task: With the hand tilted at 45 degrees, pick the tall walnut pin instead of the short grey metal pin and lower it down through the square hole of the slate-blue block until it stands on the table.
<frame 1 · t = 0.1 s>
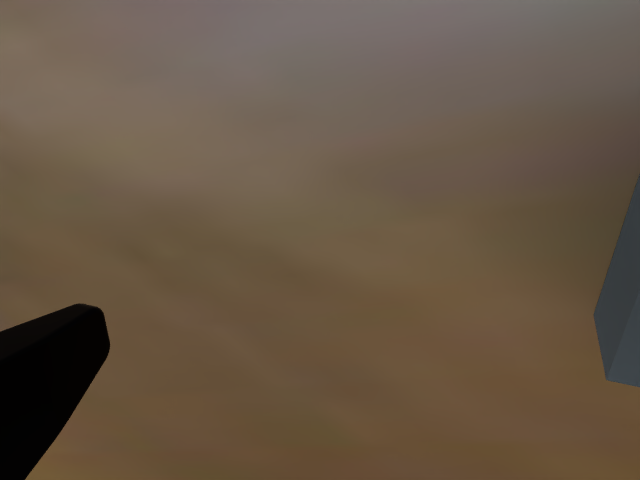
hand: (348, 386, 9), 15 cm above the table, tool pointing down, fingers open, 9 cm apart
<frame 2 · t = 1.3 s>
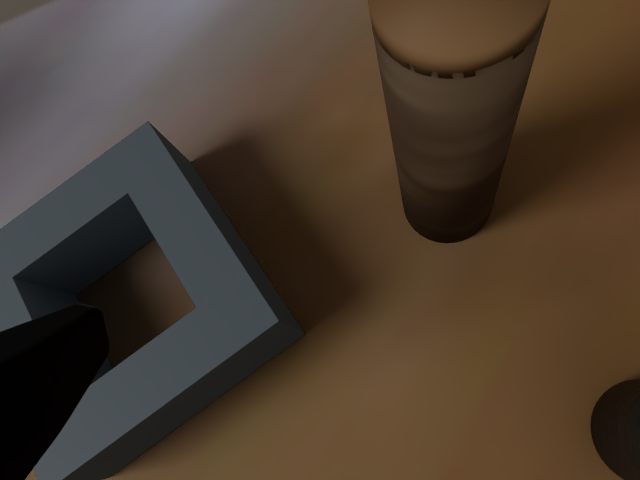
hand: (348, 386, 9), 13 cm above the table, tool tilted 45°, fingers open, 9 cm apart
tall walnut pin: (446, 201, 23), on the table
hole block: (152, 308, 24), on the table
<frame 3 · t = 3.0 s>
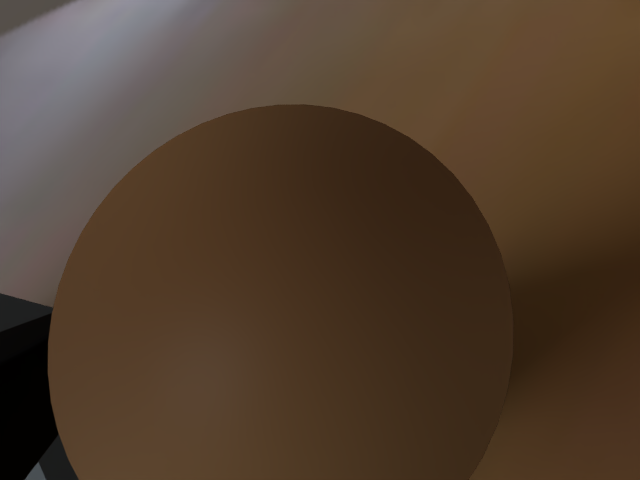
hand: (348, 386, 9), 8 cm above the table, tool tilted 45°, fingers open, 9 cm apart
tall walnut pin: (391, 388, 16), on the table
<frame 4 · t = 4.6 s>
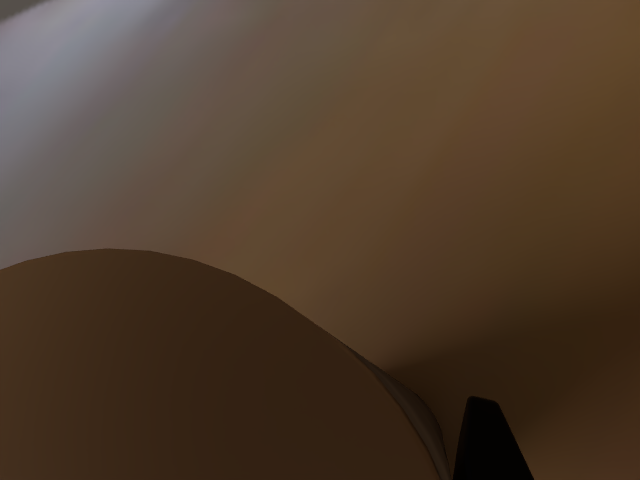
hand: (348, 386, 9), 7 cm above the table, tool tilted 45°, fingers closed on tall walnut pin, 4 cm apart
tall walnut pin: (374, 448, 14), on the table, touching gripper
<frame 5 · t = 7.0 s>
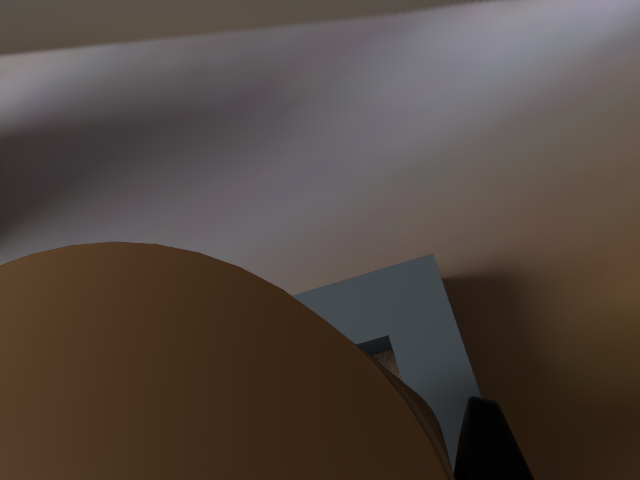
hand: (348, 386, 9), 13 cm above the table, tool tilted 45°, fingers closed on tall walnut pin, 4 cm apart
tall walnut pin: (375, 447, 14), point 7 cm above the table, touching gripper
hole block: (347, 437, 21), on the table
when the fingers open (8 cm above the table, at t = 9.2 s): tall walnut pin drops 1 cm, resting in hole block.
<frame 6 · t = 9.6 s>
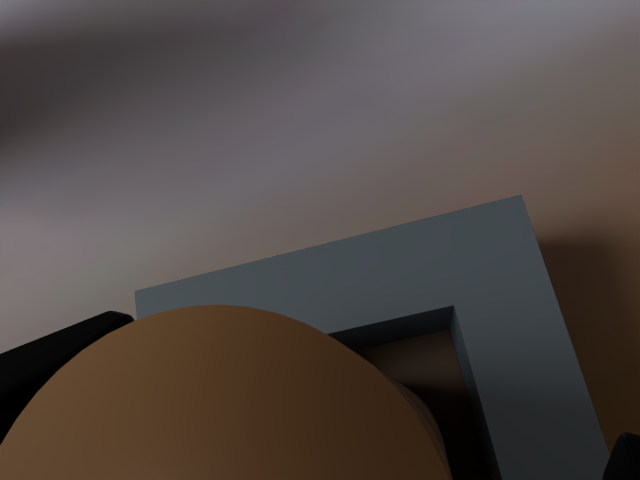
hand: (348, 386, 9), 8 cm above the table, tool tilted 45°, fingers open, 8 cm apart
tall walnut pin: (379, 445, 16), resting in hole block
hole block: (379, 445, 16), on the table
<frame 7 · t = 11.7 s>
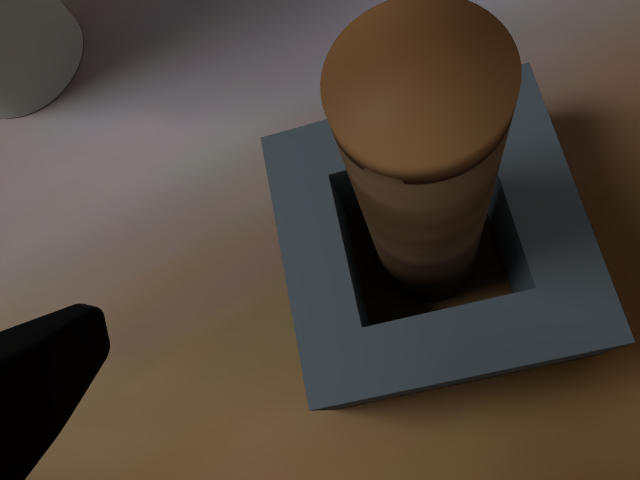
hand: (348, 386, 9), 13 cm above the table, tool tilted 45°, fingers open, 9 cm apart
cylindrical container: (26, 61, 30), on the table
tall walnut pin: (427, 258, 22), resting in hole block
hole block: (426, 257, 22), on the table
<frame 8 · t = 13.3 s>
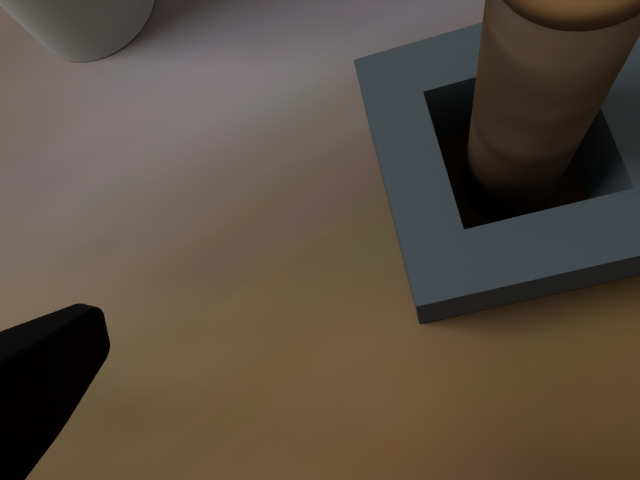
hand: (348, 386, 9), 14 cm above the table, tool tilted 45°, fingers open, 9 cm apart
cylindrical container: (98, 8, 31), on the table
tall walnut pin: (508, 181, 23), resting in hole block
hole block: (507, 181, 23), on the table
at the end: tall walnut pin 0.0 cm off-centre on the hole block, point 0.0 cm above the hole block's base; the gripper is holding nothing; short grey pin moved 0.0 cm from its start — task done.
